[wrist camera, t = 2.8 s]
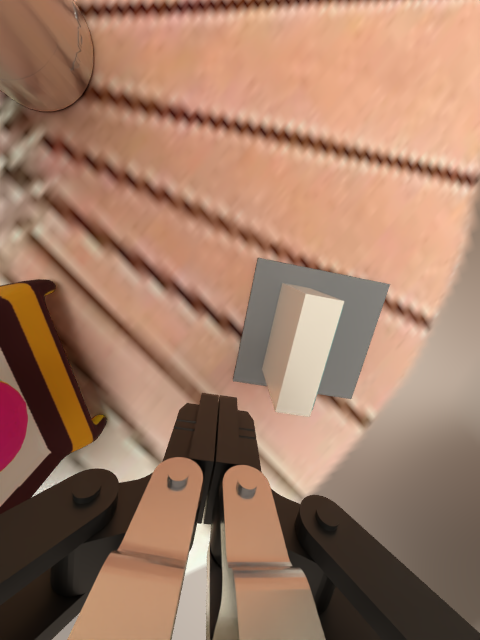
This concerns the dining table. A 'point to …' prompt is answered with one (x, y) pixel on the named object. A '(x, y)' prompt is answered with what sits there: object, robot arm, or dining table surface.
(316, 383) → the block
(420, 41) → the dining table surface
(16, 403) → the decorative lantern
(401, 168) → the dining table surface
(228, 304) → the dining table surface
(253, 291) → the mat
